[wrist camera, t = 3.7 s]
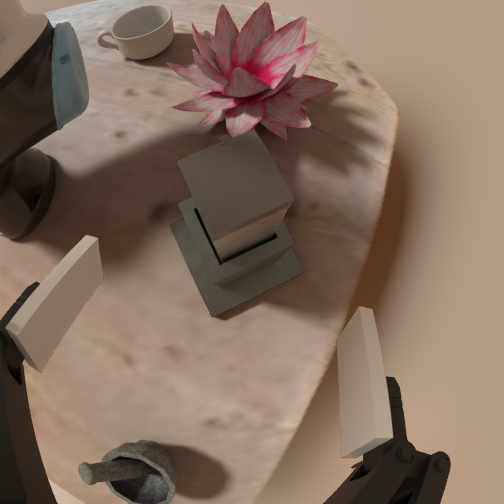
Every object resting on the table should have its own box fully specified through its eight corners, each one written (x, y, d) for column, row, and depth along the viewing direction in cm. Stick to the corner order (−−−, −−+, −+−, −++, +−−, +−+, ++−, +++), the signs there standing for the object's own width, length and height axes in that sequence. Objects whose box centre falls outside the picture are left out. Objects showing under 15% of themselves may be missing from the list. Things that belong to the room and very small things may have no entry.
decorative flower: (149, 131, 38) (116, 62, 23) (223, 47, 41) (221, -20, 26) (283, 193, 37) (309, 131, 22) (337, 92, 40) (367, 26, 26)
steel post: (210, 239, 34) (176, 161, 14) (244, 223, 34) (254, 129, 15) (226, 273, 33) (211, 237, 14) (262, 257, 34) (295, 198, 14)
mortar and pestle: (197, 456, 31) (183, 509, 19) (165, 491, 29) (146, 541, 17) (126, 410, 31) (86, 447, 19) (101, 449, 30) (63, 487, 18)
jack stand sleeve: (172, 228, 35) (140, 192, 23) (258, 188, 37) (268, 135, 24) (213, 316, 34) (198, 327, 21) (301, 272, 35) (336, 258, 23)
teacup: (182, 30, 42) (177, 0, 34) (170, 64, 40) (162, 31, 32) (117, 39, 41) (107, 12, 33) (100, 74, 39) (85, 46, 32)
